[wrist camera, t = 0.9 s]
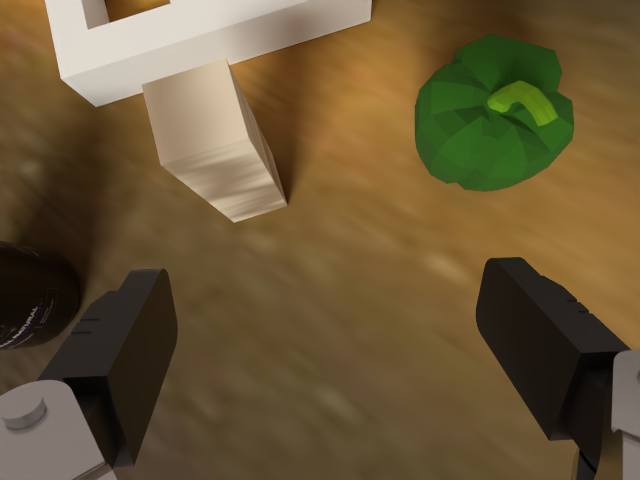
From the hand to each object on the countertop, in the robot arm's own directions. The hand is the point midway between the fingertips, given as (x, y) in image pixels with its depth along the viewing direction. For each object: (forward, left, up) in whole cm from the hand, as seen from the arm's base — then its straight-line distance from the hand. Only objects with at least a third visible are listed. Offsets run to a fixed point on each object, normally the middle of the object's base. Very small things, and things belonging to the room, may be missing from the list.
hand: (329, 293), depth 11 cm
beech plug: (+4, -10, -18) cm, 21 cm away
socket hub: (+3, -26, -18) cm, 32 cm away
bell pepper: (-11, -8, -18) cm, 23 cm away
